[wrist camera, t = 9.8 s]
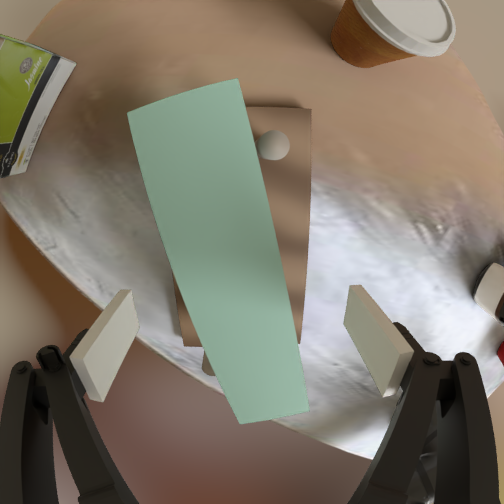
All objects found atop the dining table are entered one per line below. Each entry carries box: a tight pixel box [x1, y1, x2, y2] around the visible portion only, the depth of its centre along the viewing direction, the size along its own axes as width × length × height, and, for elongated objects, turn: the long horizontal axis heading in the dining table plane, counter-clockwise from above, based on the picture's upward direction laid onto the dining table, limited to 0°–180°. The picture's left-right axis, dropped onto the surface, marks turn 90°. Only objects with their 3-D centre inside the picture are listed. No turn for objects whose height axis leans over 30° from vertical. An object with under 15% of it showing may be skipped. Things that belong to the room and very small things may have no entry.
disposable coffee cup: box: [331, 0, 456, 68], centre depth 16 cm, size 10×10×12 cm
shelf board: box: [127, 78, 310, 424], centre depth 18 cm, size 24×6×4 cm, turn 13°
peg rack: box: [172, 107, 312, 376], centre depth 24 cm, size 26×14×10 cm, turn 1°
